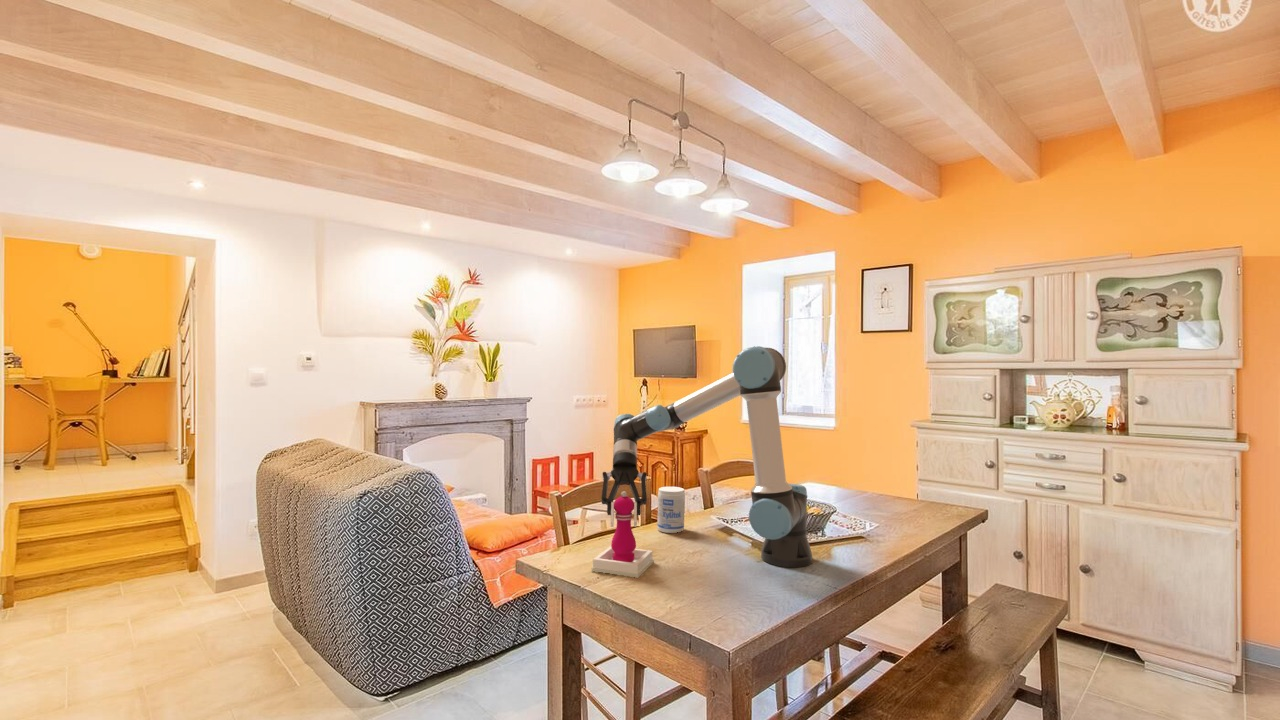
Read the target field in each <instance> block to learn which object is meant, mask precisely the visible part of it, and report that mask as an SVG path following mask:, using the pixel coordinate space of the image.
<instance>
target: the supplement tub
mask: <svg viewBox="0 0 1280 720" xmlns="http://www.w3.org/2000/svg"><path fill="white" fill-rule="evenodd" d="M685 495H686V493H685V489H684V488H682V487H679V486H662V487H659V488H658V493H657V523H656V524H657V530H658V531H660V532H662V533H666V534H678V533H681V531H682V532H683V531H684V530H685V507H686V506H685V503H686V501H685V498H686V496H685ZM677 532H678V533H677Z"/></svg>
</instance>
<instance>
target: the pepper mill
mask: <svg viewBox="0 0 1280 720" xmlns="http://www.w3.org/2000/svg"><path fill="white" fill-rule="evenodd" d="M620 495H621V496H618V497H617V498H616V499H614V501H613V502H614V512H615V513H614V519H616V528H615V532H614V534H613V537H612V539H611V544H610V546H611V547H612V549H613V551H614V553H613V560H615V561H623V562H633V561H634V553H633V551H634V550H635V549H637V548H636V547H637V541H636V537H635V535H634V533H633V530H632V529H633V528H632V519H633V516H634V513H633V512H634V502H635V501H634V500H633V499H632V498H631V497H630V496H628V493H627V491H625V490H624V491H621V492H620Z"/></svg>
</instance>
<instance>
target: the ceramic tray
mask: <svg viewBox="0 0 1280 720" xmlns="http://www.w3.org/2000/svg"><path fill="white" fill-rule="evenodd" d="M653 551H654V550H649V549H640V548H635V550H634V551H633V553H634V561H633V562H623V561H615V560H613V553H614V551H613V549H612V547H611V545H610V546H608V547H607V548H606V549H605V550H603V551H602V552H600V553H599V554H598V555H597V556H595V557H594V558H592V567H591V572H592V571H595V572H594V573H598V572H603V573H602V574H605V573H610V574H609V575H612V574H617V575H616V576H620V575H624V576H623V577H627V576H630V577H629V578H634V577H635V578H637V579H639V577H640V576H642V574H644V572H646V570H648V569H649V568H650V567H651V565H653V564H654V562H655V559H654V558H653V553H654V552H653Z"/></svg>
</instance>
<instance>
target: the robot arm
mask: <svg viewBox="0 0 1280 720" xmlns="http://www.w3.org/2000/svg"><path fill="white" fill-rule="evenodd" d="M786 371H787V363H786V359H785V357H784V356H783V354H782V353H781V352H780V351H778V350H777V349H775V348H771V347H765V346H764V347H763V346H758V345H757V346H752V347H751V346H750V347H747V348H744V349H743V350H741V351H740V352H739V353H738V354H737V355H736V357H735V358H734V360H733V363H732V372H731V373H729V374H726V376H723V377H721V378H719V379H717V380H715V381H714V382H711V383H709V384H708V385H705V386H704V387H701V388H699V389H698V390H696V391H694V392H692V393H689V394H688V395H687V396H684V397H682V398H679V400H676V401H675V402H672V403H670V404H668V405H666V406H663V405H662V404H657V405H655V406H651V407H649V408H648V409H646V410H644V411H642V412H641V413H638V414H637V415H635V416H634V415H633V414H631V413H625V414H623V413H622V414H619V415H618V416H617V417H616V418H615V420H614V425H613V446H612V447H613V449H612V457H613V458H612V469H611V471H610V472H606V471H603V472H602V480H603V482H602V483H603V485H602V490H601V491H602V492H601V504H602V505H606V506H607V507H606V513H607V516H610V527H611V528H612V527H614V525H615V524H614V519H615V509H614V502H615V498H616V495H617V494H618V490H619V488H620V486H623V485H624V486H625V485H626V486H629V489H630V490H631V494H632V496H633V498H634V501H633V502H634V509H633V512H634V513H633V527H634V528H637V527H638V525H637V524H638V520H637V518H638V516H641V513H642V512H641V511H642V510H641V509H642V507H641V506H643V505H644V506H645V505H647V501H648V496H647V495H648V494H647V485H646V481H647V476H648V475H647V474H648V473H647V472H646V471H643V472H639V470H638V441H639V440H642V439H644V438H646V437H648V436H651V435H652V434H656V433H659V432H665V431H668V430H670V431H671V430H675V429H677V428H679V427H680V426H681V425H683V424H685V423H687V422H688V421H690V420H692V419H694V418H697V417H699V416H701V415H703V414H705V413H707V412H709V411H711V410H713V409H715V408H717V407H720V406H722V405H723V404H725V403H728V402H730V401H731V400H734V399H735V398H737V397H741V398H743V399H744V400H745V401H746V408H747V409H746V410H747V419H748V429H749V437H750V443H751V445H750V446H751V454H752V462H753V472H754V473H753V474H754V482H755V483H754V485H753V487H752V488H751V489H750V494H751V503H752V504H751V506H750V508H749V511H748V521H749V525H750V526H751V528H752V530H753V531H754V532H755V533H756V534H757V535H758V536H760V537H762V538H764V541H763V544H762V546H761V550H760V551H761V552H760V553H761V556H760V557H761V560H762V561H763V562H766V563H768V564H770V565H773V566H778V567H784V568H801V567H802V568H803V567H807V566H810V565H812V564H813V552H812V549H811V546H810V543H809V540H808V537H807V535H808V534H807V529H808V528H807V526H808V524H807V523H808V522H807V514H808V513H807V511H808V506H807V505H808V504H807V503H808V492H807V488H806V487H805V486H804V485H801V484H796V483H789V482H787V479H786V469H785V462H784V461H785V460H784V451H783V444H782V434H781V433H782V432H781V427H780V426H781V425H780V417H779V408H778V400H777V397H779V395H780V394H781V392H782V387H781V380H782V379H783V378H784V376H785V375H786ZM611 477H612V479H613V480H614V481H613V482H614V483H613V485H612V487H611V490H610V493H609V495H608V494H607V493H608V487H609V480H611ZM638 478H639V481H640V482H641V483H640V487H641V496H640V495H639V491H638V489H637V486H636V483H635V481H636V479H638ZM607 495H608V498H607ZM809 564H810V565H809ZM806 565H807V566H806Z"/></svg>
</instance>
